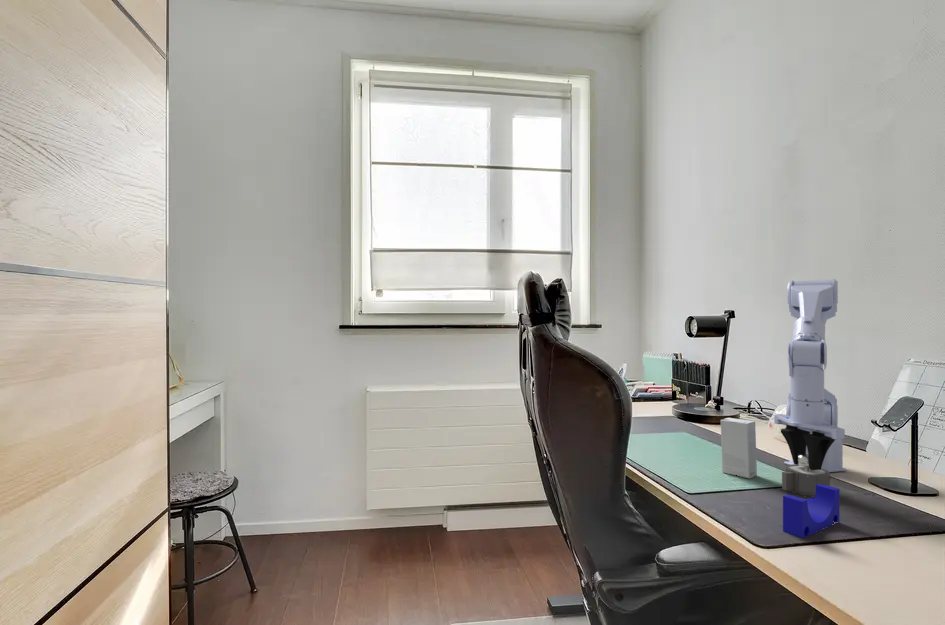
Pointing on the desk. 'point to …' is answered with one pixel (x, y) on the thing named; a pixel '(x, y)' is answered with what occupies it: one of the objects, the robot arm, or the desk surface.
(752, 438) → the skincare box
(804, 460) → the plunger
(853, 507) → the desk surface
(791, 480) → the press
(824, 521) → the blue u-shaped cradle block
